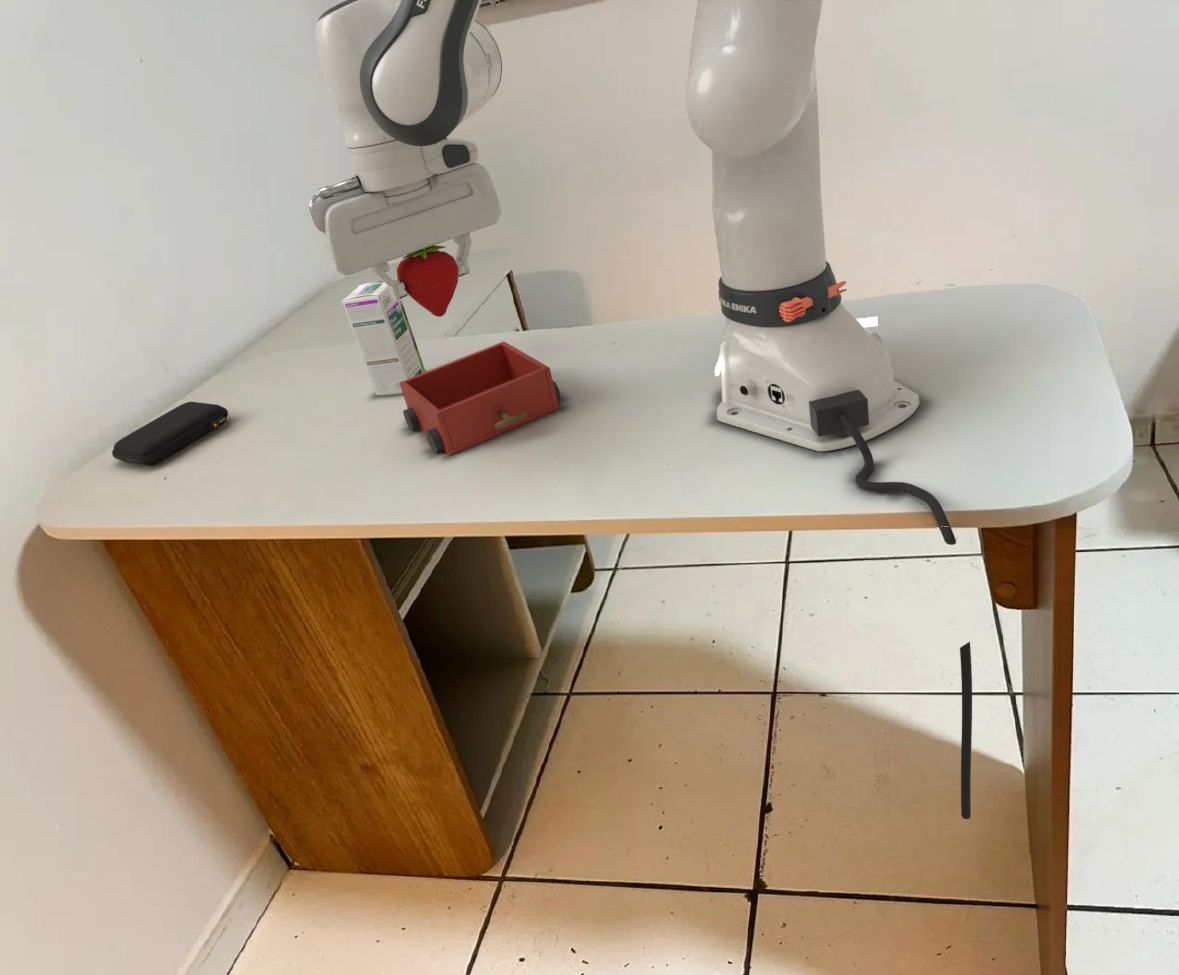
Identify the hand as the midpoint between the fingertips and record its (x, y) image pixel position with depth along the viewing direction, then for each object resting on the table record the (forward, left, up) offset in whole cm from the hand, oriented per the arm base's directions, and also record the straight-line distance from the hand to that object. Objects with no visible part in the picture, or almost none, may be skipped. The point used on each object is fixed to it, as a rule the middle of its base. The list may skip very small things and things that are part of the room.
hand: (431, 285), depth 108 cm
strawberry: (0, 0, -4) cm, 4 cm away
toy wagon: (-1, -2, -18) cm, 18 cm away
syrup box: (+20, +3, -18) cm, 27 cm away
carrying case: (+31, +33, -18) cm, 49 cm away
